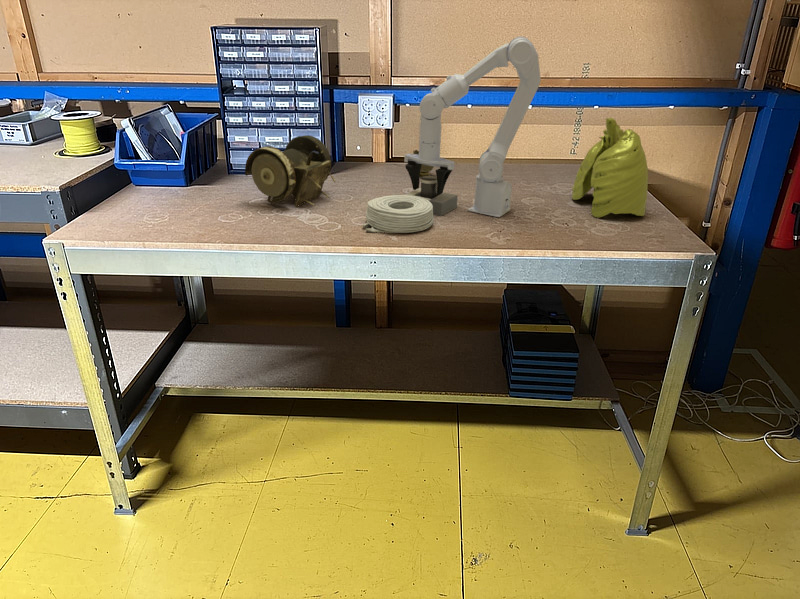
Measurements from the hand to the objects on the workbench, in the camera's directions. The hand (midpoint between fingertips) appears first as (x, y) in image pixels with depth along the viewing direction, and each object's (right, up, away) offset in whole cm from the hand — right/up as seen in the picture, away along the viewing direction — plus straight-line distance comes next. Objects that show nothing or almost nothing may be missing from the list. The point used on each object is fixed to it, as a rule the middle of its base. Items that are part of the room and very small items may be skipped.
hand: (427, 191), depth 161 cm
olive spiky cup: (0, +11, +30) cm, 32 cm away
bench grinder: (-36, -2, +6) cm, 37 cm away
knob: (0, -3, +2) cm, 3 cm away
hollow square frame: (+1, -4, +2) cm, 5 cm away
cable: (-8, -10, -10) cm, 16 cm away
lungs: (+51, -4, +5) cm, 51 cm away
